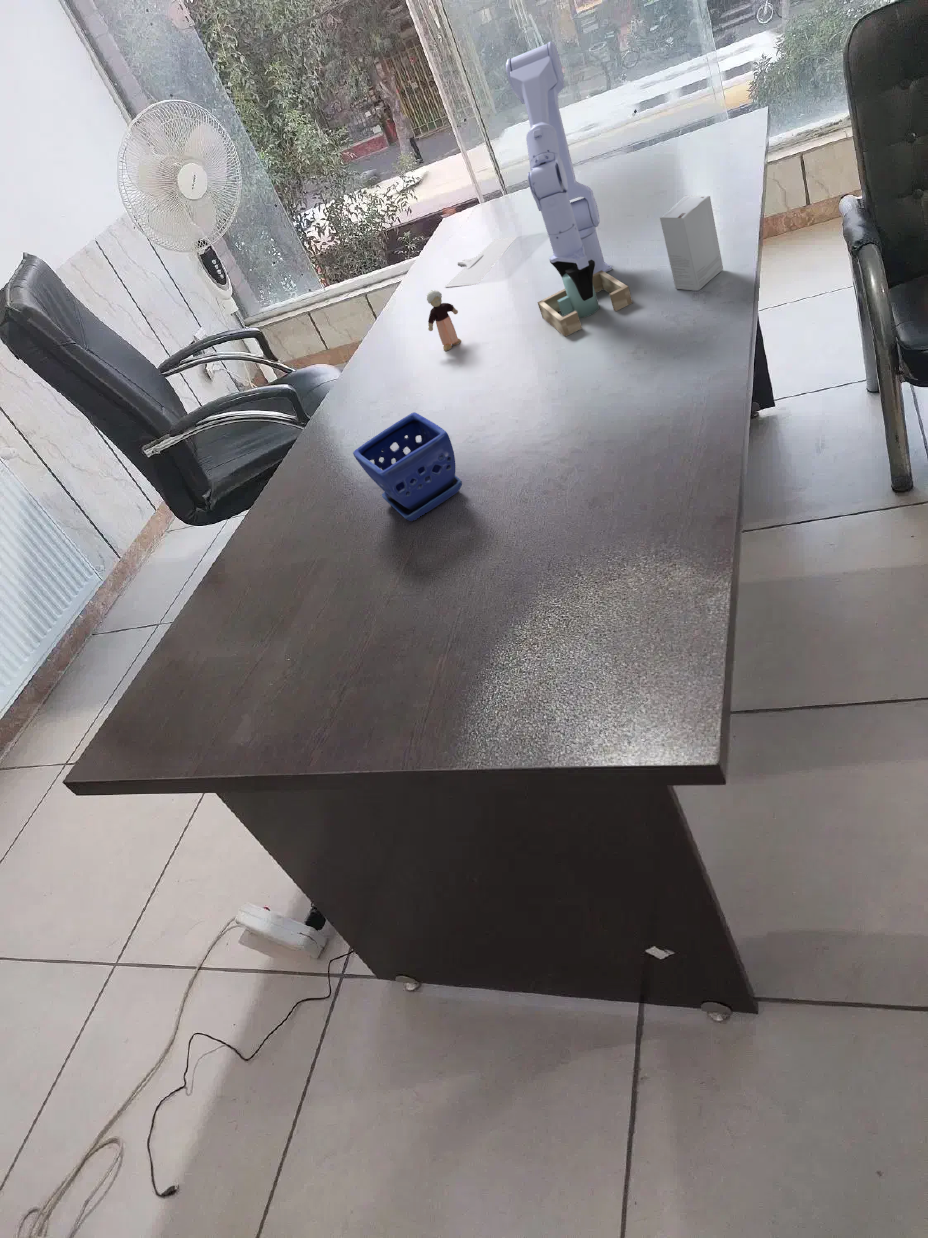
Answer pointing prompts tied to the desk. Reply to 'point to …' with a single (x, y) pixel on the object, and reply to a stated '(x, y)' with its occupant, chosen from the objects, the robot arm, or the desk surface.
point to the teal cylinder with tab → (576, 300)
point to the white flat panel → (480, 263)
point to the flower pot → (412, 465)
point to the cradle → (571, 321)
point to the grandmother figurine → (442, 319)
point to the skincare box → (692, 242)
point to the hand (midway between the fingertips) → (581, 293)
